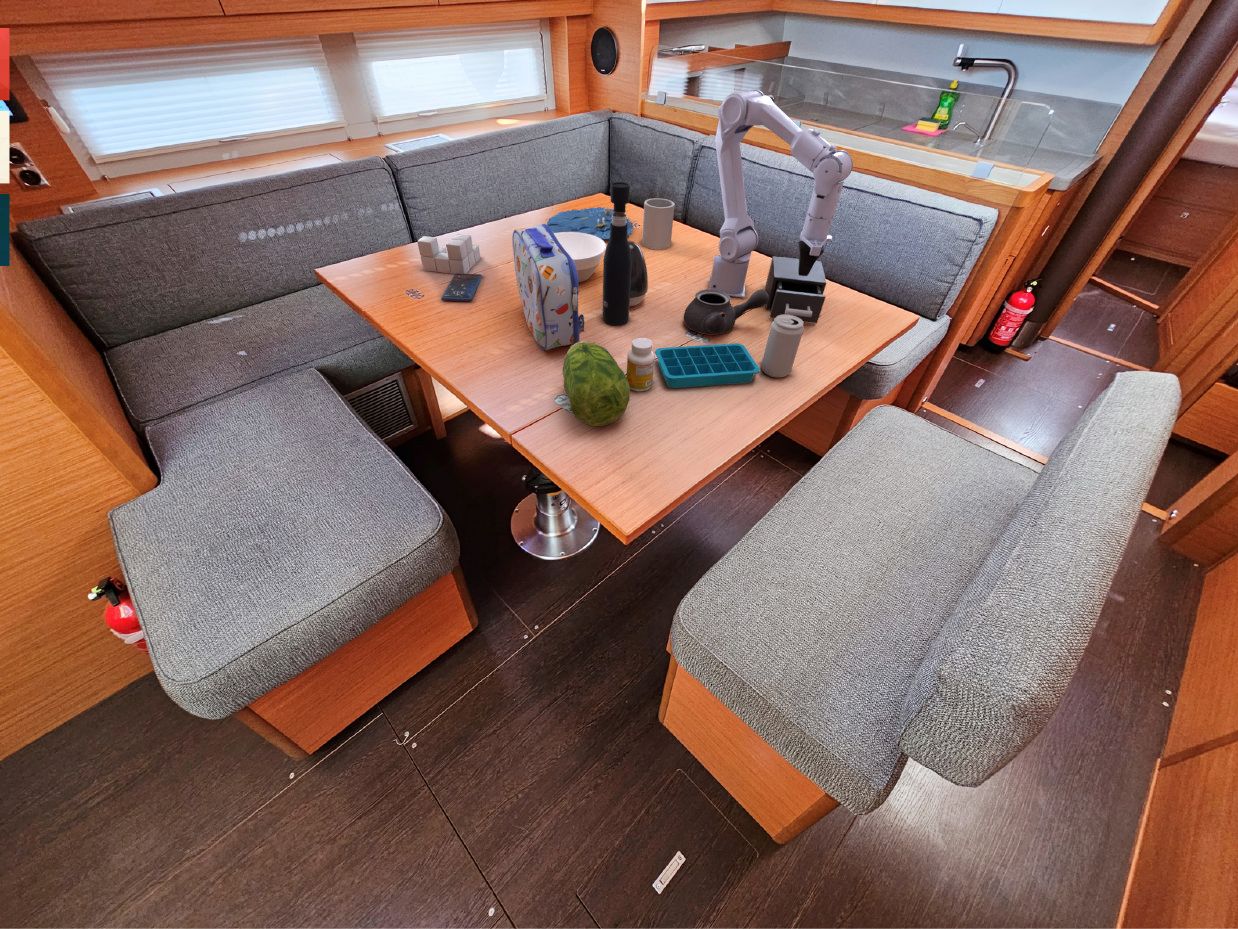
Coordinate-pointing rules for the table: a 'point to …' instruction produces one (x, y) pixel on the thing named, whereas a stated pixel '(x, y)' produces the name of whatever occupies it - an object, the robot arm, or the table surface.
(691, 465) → the table surface
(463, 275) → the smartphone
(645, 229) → the cup
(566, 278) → the lunch box
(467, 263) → the puzzle cube
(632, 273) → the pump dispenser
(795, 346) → the beverage can
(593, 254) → the bowl
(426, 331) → the table surface
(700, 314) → the teapot
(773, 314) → the drawer
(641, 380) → the supplement bottle
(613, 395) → the lettuce
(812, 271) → the cabinet
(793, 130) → the robot arm
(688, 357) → the ice cube tray
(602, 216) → the blue sea diorama
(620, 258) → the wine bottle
